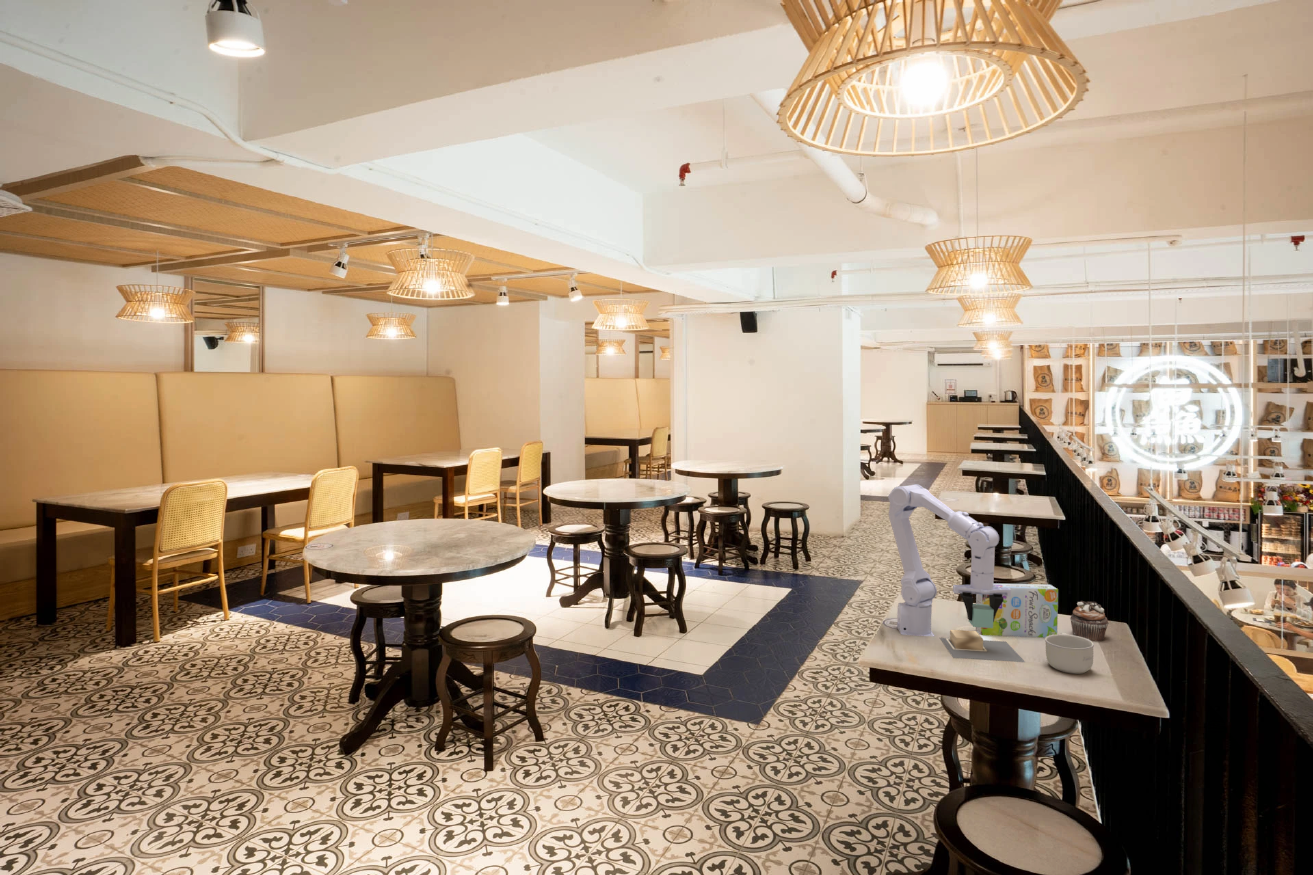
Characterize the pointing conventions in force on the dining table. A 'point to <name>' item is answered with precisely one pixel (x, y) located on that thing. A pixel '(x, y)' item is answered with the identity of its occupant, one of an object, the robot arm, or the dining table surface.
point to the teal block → (982, 616)
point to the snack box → (1024, 611)
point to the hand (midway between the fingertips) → (980, 620)
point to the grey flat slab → (985, 651)
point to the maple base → (966, 639)
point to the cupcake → (1089, 621)
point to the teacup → (1069, 653)
